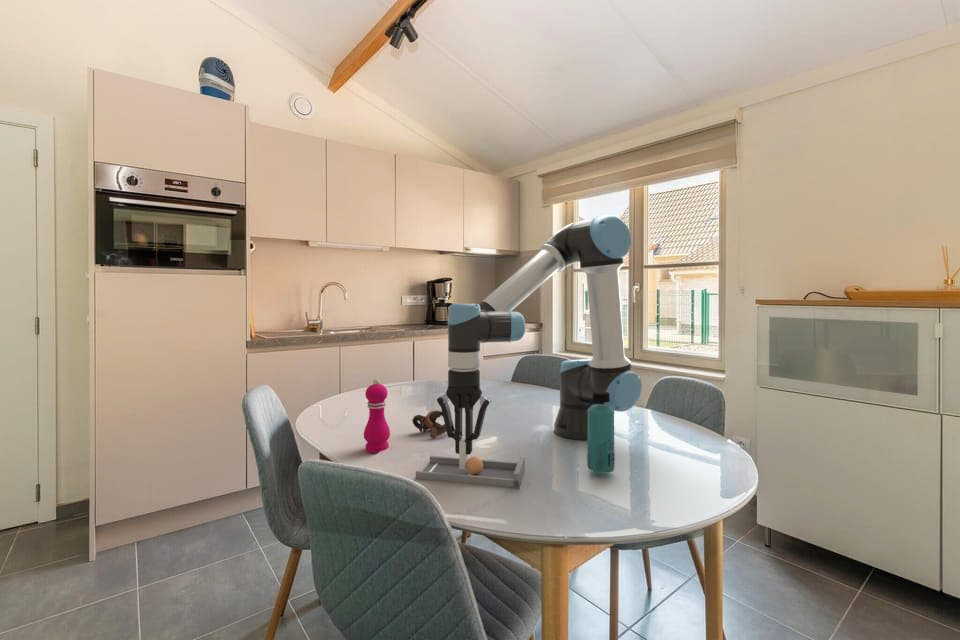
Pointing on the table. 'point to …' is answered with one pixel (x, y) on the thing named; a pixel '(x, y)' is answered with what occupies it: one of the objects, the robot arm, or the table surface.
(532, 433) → the table surface
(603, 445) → the beverage bottle
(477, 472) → the ball
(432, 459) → the lane
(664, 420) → the table surface
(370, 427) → the pepper mill
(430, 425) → the brown pretzel knot
